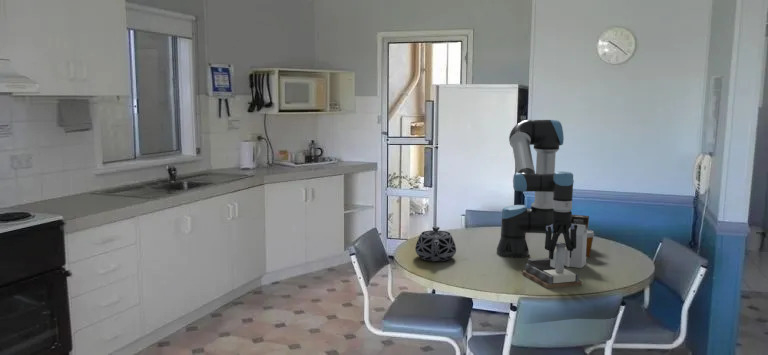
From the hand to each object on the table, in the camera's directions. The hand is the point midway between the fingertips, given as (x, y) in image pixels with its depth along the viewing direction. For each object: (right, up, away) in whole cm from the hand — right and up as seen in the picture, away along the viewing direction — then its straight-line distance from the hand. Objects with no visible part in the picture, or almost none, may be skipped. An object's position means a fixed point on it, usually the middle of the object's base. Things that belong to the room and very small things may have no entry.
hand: (559, 266), depth 255 cm
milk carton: (+15, -4, +28) cm, 32 cm away
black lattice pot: (-47, -2, +40) cm, 62 cm away
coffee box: (+26, +1, +61) cm, 67 cm away
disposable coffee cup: (+24, -1, +45) cm, 51 cm away
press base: (-2, -6, +7) cm, 9 cm away
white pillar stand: (0, -6, +1) cm, 6 cm away
